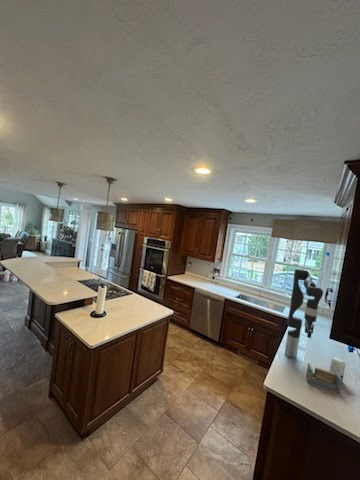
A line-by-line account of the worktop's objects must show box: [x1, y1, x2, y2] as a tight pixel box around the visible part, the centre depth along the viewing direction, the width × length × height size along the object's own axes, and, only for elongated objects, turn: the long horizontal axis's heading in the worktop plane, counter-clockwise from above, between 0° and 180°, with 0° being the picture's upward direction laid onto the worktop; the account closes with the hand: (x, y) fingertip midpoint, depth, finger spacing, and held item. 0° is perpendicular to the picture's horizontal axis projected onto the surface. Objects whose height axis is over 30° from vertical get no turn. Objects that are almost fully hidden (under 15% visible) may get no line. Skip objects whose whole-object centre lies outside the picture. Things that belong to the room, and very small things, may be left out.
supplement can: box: [329, 356, 346, 383], centre depth 156 cm, size 8×8×15 cm
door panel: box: [313, 366, 336, 384], centre depth 148 cm, size 3×12×9 cm, turn 69°
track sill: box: [305, 362, 342, 394], centre depth 148 cm, size 9×18×10 cm, turn 69°
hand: (307, 335), depth 156 cm, fingers open, 8 cm apart
